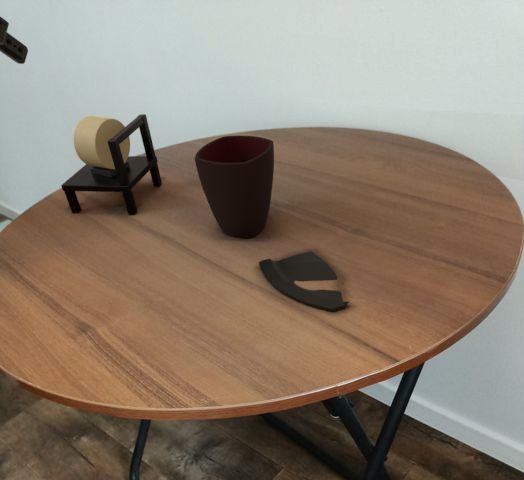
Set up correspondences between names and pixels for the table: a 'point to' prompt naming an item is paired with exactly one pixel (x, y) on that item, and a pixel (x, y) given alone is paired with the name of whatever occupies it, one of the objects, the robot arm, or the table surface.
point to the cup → (238, 182)
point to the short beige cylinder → (99, 144)
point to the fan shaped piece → (303, 270)
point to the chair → (118, 170)
